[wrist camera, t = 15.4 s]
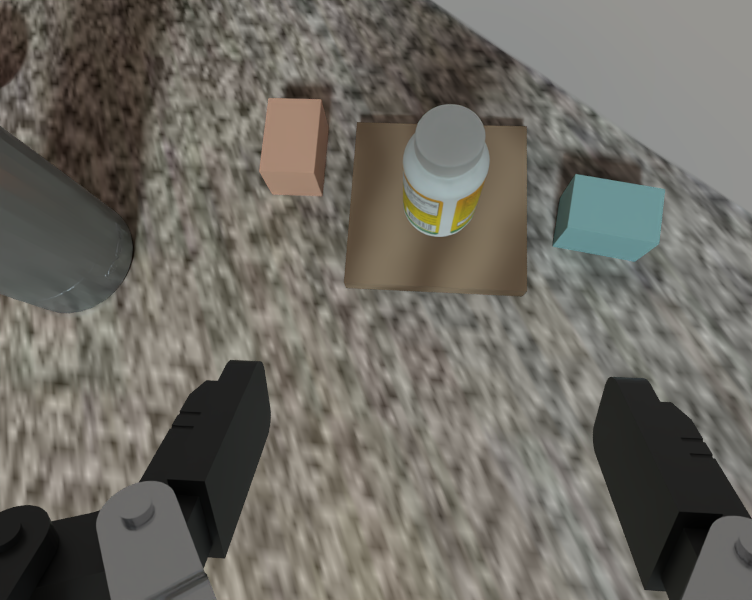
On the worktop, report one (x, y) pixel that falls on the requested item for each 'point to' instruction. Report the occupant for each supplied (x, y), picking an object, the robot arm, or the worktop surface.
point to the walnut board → (429, 253)
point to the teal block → (609, 218)
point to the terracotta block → (294, 147)
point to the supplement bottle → (444, 170)
